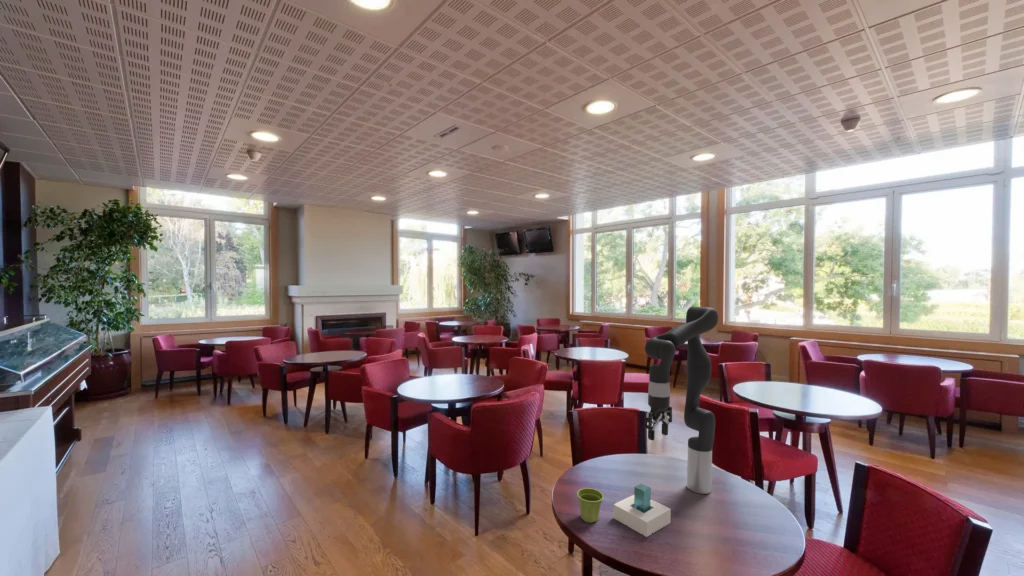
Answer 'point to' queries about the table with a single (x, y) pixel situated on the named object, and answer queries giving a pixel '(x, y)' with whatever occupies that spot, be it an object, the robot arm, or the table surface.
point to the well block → (642, 516)
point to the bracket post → (642, 498)
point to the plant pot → (589, 504)
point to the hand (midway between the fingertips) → (658, 437)
